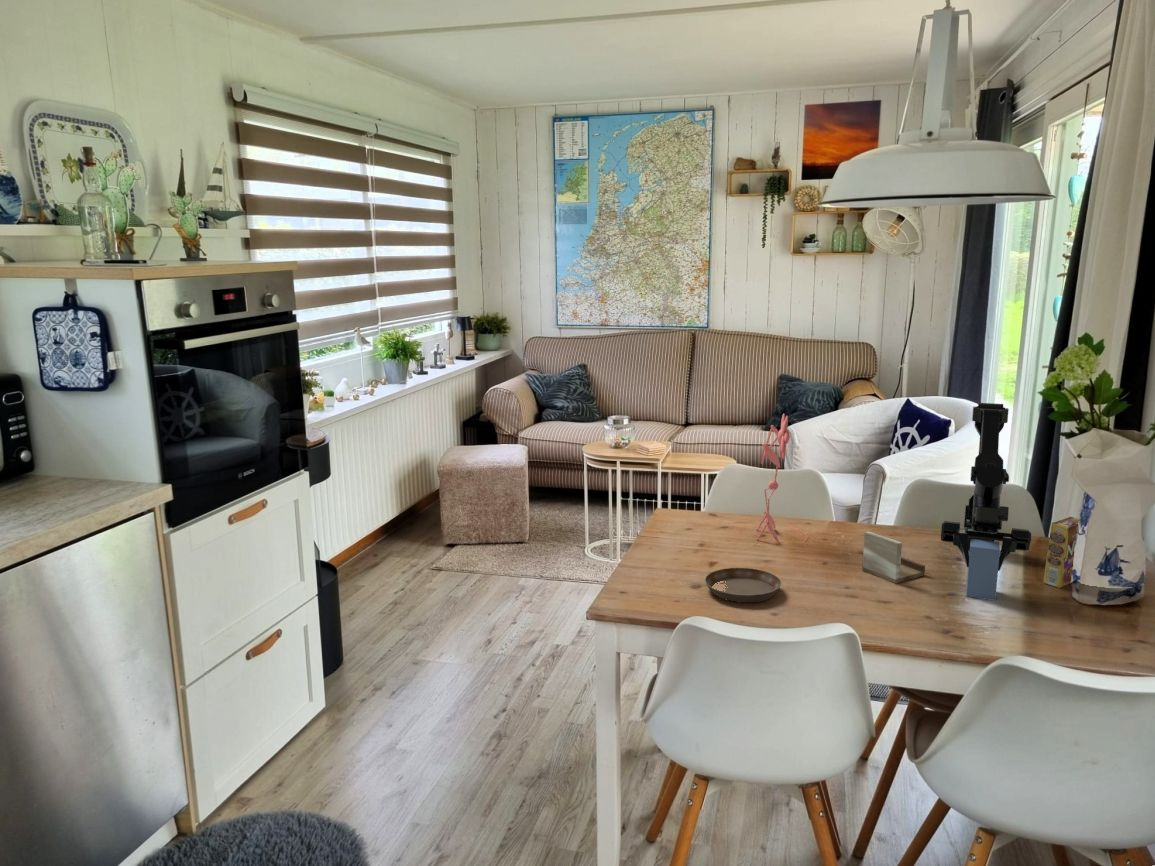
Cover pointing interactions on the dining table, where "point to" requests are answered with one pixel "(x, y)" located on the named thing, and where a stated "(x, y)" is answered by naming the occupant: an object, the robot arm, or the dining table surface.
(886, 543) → the wooden stand
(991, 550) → the blue-grey rectangular block
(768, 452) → the figurine
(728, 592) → the plant saucer
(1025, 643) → the dining table surface
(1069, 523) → the candy box
